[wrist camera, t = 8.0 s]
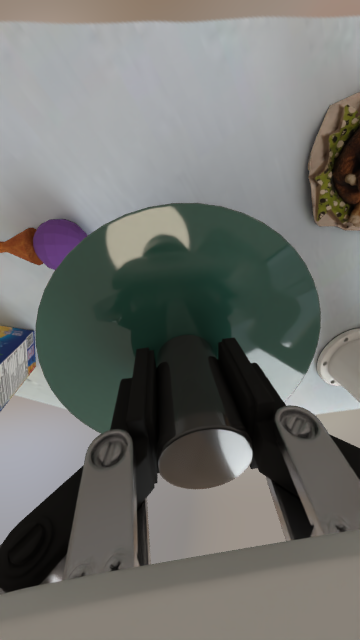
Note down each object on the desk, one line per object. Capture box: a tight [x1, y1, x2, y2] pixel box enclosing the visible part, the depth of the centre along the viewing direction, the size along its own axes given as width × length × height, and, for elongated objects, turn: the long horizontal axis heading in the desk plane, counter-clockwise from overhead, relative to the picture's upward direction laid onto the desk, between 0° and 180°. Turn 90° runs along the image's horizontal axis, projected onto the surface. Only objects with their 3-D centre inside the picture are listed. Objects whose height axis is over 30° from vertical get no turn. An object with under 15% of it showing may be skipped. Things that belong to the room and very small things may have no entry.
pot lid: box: [36, 203, 321, 489], centre depth 9 cm, size 14×14×6 cm
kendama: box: [0, 219, 87, 270], centre depth 26 cm, size 6×6×20 cm
